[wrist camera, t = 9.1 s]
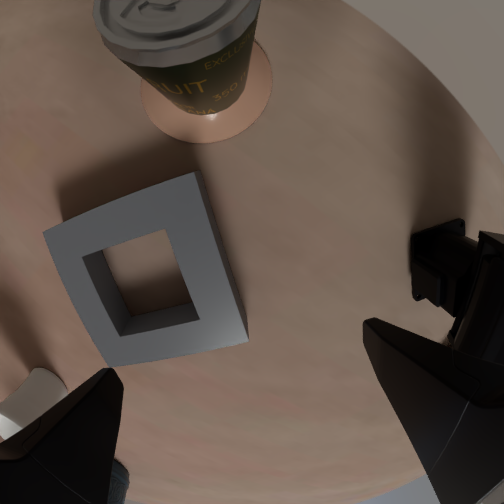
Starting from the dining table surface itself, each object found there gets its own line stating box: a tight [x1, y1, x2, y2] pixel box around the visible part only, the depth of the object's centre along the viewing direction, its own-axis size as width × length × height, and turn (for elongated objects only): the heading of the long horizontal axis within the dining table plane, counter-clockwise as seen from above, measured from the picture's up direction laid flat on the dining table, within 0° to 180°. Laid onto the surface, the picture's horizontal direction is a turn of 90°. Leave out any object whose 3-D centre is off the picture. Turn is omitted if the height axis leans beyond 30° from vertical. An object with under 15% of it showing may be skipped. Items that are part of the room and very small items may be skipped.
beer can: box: [93, 0, 261, 116], centre depth 11 cm, size 5×5×12 cm
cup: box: [0, 368, 68, 440], centre depth 20 cm, size 9×9×10 cm
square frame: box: [43, 170, 249, 367], centre depth 19 cm, size 12×12×3 cm
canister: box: [108, 460, 130, 504], centre depth 22 cm, size 13×13×18 cm
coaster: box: [141, 41, 272, 143], centre depth 17 cm, size 9×9×1 cm
